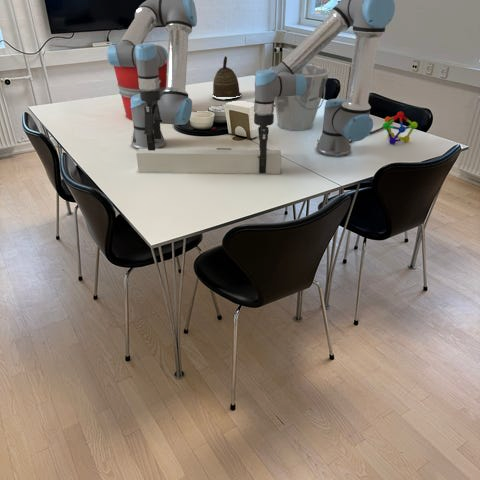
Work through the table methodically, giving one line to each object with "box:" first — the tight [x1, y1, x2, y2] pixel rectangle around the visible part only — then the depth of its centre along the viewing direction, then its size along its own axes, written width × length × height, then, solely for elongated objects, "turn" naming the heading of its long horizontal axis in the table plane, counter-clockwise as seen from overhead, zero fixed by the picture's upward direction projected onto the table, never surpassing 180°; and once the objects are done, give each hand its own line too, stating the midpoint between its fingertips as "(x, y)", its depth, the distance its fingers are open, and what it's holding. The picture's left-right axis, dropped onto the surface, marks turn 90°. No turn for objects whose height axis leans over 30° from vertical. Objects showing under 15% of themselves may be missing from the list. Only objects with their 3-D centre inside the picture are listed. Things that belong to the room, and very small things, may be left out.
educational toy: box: [382, 110, 418, 145], centre depth 207 cm, size 16×13×15 cm
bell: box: [212, 56, 242, 97], centre depth 278 cm, size 19×26×20 cm
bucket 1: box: [108, 61, 167, 121], centre depth 240 cm, size 35×35×30 cm
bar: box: [135, 148, 282, 175], centre depth 180 cm, size 58×5×8 cm, turn 89°
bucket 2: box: [274, 64, 330, 131], centre depth 226 cm, size 30×30×28 cm
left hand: (154, 144), depth 176 cm, fingers open, 13 cm apart
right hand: (262, 169), depth 181 cm, fingers closed on bar, 5 cm apart
